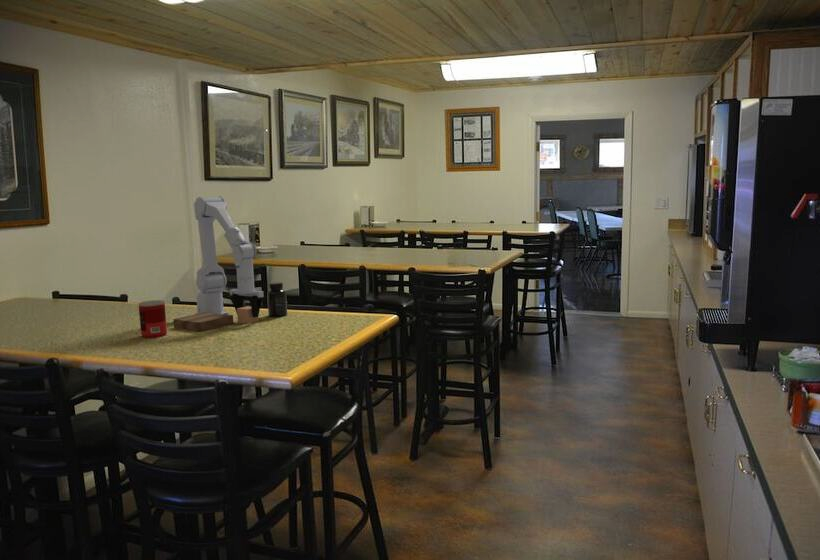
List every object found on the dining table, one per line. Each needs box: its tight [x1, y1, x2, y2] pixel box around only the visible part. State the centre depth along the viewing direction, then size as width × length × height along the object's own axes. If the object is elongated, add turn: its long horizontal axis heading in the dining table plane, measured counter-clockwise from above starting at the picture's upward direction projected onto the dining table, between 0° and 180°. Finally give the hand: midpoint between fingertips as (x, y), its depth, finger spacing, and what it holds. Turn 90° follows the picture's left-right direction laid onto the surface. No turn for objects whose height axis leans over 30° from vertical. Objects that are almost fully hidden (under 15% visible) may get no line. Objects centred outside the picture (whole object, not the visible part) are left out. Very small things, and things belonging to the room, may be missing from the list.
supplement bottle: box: [266, 281, 288, 318], centre depth 247 cm, size 7×7×12 cm
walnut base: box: [172, 312, 234, 332], centre depth 233 cm, size 14×14×3 cm
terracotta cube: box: [236, 305, 259, 324], centre depth 238 cm, size 5×5×5 cm
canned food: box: [138, 299, 168, 339], centre depth 219 cm, size 8×8×11 cm
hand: (247, 316), depth 238 cm, fingers open, 7 cm apart
